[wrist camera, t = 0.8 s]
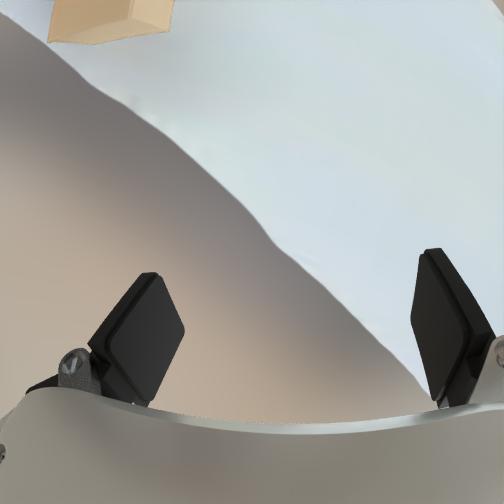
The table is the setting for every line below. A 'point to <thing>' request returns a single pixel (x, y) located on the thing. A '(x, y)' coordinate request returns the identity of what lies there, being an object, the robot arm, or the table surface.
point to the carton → (130, 24)
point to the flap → (85, 16)
